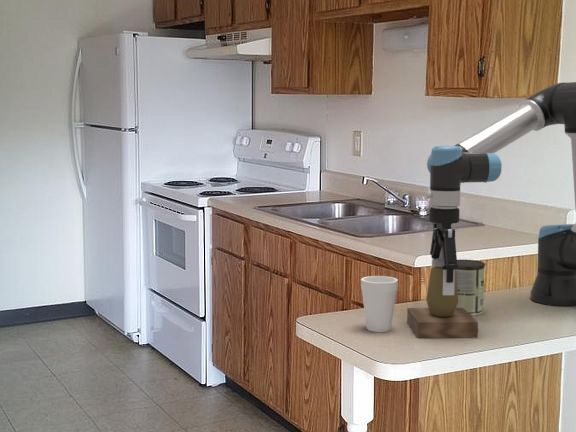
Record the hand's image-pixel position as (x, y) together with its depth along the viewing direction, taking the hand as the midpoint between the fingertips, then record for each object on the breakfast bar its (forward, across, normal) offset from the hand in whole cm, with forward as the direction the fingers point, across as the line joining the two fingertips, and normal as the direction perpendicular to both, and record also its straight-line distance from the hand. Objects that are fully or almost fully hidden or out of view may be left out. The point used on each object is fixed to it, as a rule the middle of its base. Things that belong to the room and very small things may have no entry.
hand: (442, 289), depth 205 cm
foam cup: (+11, -2, -16) cm, 19 cm away
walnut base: (+11, 0, 0) cm, 11 cm away
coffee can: (+11, -20, +11) cm, 25 cm away
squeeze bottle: (+7, 0, 0) cm, 7 cm away
